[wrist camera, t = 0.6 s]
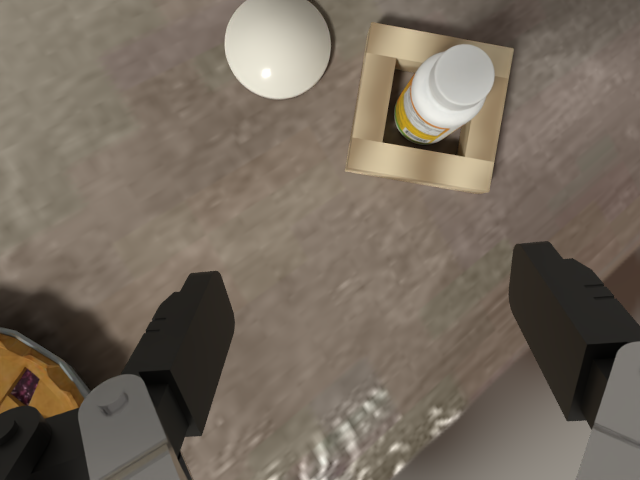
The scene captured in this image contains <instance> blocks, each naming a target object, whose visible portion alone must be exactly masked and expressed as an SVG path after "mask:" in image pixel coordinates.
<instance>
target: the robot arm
mask: <svg viewBox="0 0 640 480" xmlns="http://www.w3.org/2000/svg"><path fill="white" fill-rule="evenodd" d="M509 302H510V307H511V310H512V313H513V315H514V317H515V319H516V321H517V323H518V325H519V327H520V329H521V331H522V333H523V335H524V337H525V339H526V341H527V343H528V345H529V347H530V349H531V351H532V353H533V355H534V357H535V359H536V361H537V363H538V365H539V367H540V369H541V370H542V373H543V374H544V377H545V378H546V380H547V383H548V384H549V386H550V388H551V390H552V392H553V394H554V396H555V398H556V400H557V402H558V404H559V406H560V408H561V410H562V412H563V414H564V416H565V418H566V420H567V421H582V420H587V422H588V424H589V426H590V428H591V429H592V431H591V435H590V437H589V441H588V444H587V447H586V450H585V453H584V456H583V459H582V462H581V465H580V468H579V472H578V475H577V478H576V480H640V326H639V324H638V323H637V322H636V321H635V320H634V319H633V317H631V315H630V314H629V313H628V312H627V310H625V308H624V307H623V306H622V305H621V303H620V302H619V301H618V300H617V299H614V295H613V294H612V293H611V292H610V291H609V289H608V288H607V287H604V284H603V282H602V281H601V280H600V279H599V278H598V277H597V275H596V274H595V273H594V272H593V271H592V270H591V269H590V268H588V267H586V266H584V265H583V264H581V263H579V262H578V261H576V260H574V259H573V258H572V259H563V258H562V257H561V256H560V255H559V253H558V252H557V251H556V249H555V248H554V247H553V246H552V244H551V243H550V242H548V241H544V242H533V243H522V244H516V245H515V247H514V250H513V257H512V266H511V275H510V284H509ZM234 327H235V321H234V313H233V310H232V307H231V304H230V301H229V298H228V295H227V292H226V289H225V286H224V283H223V280H222V277H221V275H220V273H219V272H218V271H210V272H199V273H191V274H190V275H189V276H188V278H187V280H186V281H185V283H184V285H183V287H182V289H181V291H180V292H174V293H173V294H171V295H170V296H169V297H168V298H167V299H166V300H165V301H164V302H163V303H162V304H161V305H160V306H159V308H158V309H157V311H156V313H155V315H154V317H153V318H152V322H150V324H149V325H148V327H147V329H146V333H144V334H143V336H142V338H141V340H140V341H139V343H138V345H137V347H136V348H135V350H134V352H133V354H132V355H131V357H130V359H129V361H128V363H127V364H126V366H125V368H124V370H123V371H122V373H121V375H119V376H116V377H113V378H110V379H108V380H106V381H104V382H103V383H101V384H100V385H98V386H97V387H96V388H94V389H93V390H92V391H91V392H90V393H89V394H88V395H87V396H86V398H85V399H84V400H83V402H82V404H81V406H80V407H79V408H76V409H73V410H70V411H67V412H64V413H61V414H58V415H55V416H52V417H48V418H45V419H44V418H43V416H42V415H41V414H40V412H39V411H38V410H37V409H36V408H35V407H32V406H19V407H15V408H12V409H9V410H7V411H5V412H3V413H1V414H0V480H194V479H193V477H192V475H191V472H190V470H189V467H188V465H187V463H186V460H185V458H184V456H183V454H182V452H181V450H180V449H181V447H182V444H183V441H184V438H185V437H190V436H202V433H203V430H204V427H205V424H206V421H207V417H208V414H209V411H210V408H211V404H212V401H213V398H214V395H215V392H216V388H217V385H218V382H219V379H220V376H221V372H222V369H223V366H224V363H225V360H226V356H227V353H228V350H229V347H230V343H231V340H232V337H233V334H234Z"/></svg>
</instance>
